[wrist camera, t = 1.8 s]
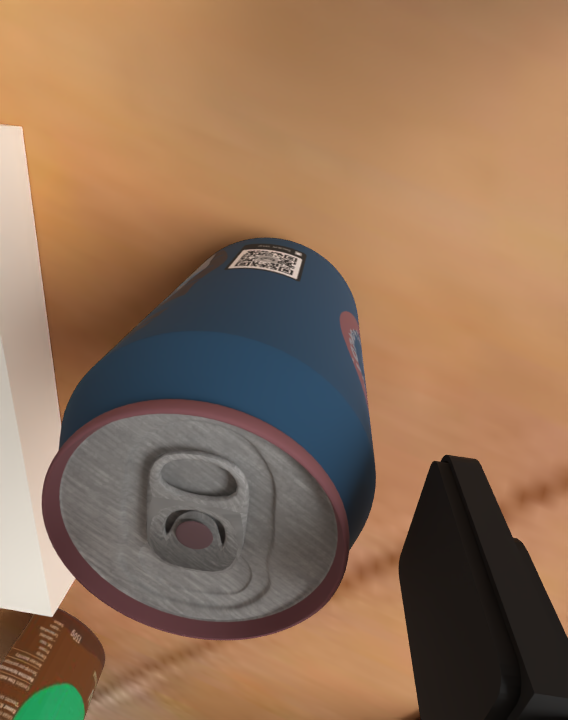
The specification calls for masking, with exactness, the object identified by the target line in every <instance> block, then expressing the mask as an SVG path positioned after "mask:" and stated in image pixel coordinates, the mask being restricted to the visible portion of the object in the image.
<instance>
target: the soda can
mask: <svg viewBox="0 0 568 720" xmlns="http://www.w3.org/2000/svg"><path fill="white" fill-rule="evenodd" d="M375 484H376V471H375V460H374V452H373V443H372V434H371V426H370V417H369V409H368V400H367V391H366V383H365V374H364V365H363V357H362V348H361V340H360V331H359V322H358V314H357V309H356V305H355V301H354V298H353V295H352V293H351V291H350V289H349V287H348V285H347V283H346V282H345V280H344V279H343V277H342V276H341V274H340V273H339V272H338V271H337V270H336V269H335V267H334V266H333V265H332V264H331V263H330V262H328V261H327V260H326V259H325V258H324V257H322V256H321V255H319V254H318V253H316V252H315V251H313V250H311V249H310V248H307V247H305V246H303V245H301V244H298V243H295V242H292V241H288V240H284V239H277V238H254V239H248V240H243V241H240V242H236V243H234V244H231V245H229V246H227V247H225V248H223V249H221V250H219V251H218V252H216V253H215V254H214V255H212V256H211V257H210V258H209V259H207V260H206V261H205V262H204V263H203V264H202V265H201V266H200V267H199V268H198V269H197V270H196V271H195V272H193V273H192V274H191V275H190V276H189V277H188V278H187V279H186V280H185V281H184V282H183V283H182V284H181V285H180V286H179V287H178V288H176V289H175V290H174V291H173V292H172V293H171V294H170V295H169V296H168V297H167V298H166V299H165V300H164V301H163V302H162V303H160V304H159V305H158V306H157V307H156V308H155V309H154V310H153V311H152V312H151V313H150V314H149V315H148V316H147V317H146V318H145V319H143V320H142V321H141V322H140V323H139V324H138V325H137V326H136V327H135V328H134V329H133V330H132V331H131V332H130V333H129V334H128V335H126V336H125V337H124V338H123V339H122V340H121V341H120V342H119V343H118V344H117V345H116V346H115V347H114V348H113V349H112V350H110V351H109V352H108V353H107V354H106V355H105V356H104V357H103V358H102V359H101V360H100V361H99V362H98V363H97V364H96V365H95V366H93V367H92V368H91V370H90V371H89V372H88V373H87V374H86V375H85V376H84V377H83V379H82V380H81V381H80V382H79V384H78V385H77V387H76V388H75V390H74V392H73V394H72V396H71V398H70V400H69V402H68V404H67V407H66V410H65V413H64V417H63V421H62V426H61V433H60V440H59V451H58V452H57V454H56V455H55V457H54V458H53V460H52V462H51V464H50V466H49V468H48V471H47V473H46V476H45V480H44V484H43V490H42V515H43V520H44V524H45V528H46V531H47V534H48V537H49V539H50V541H51V544H52V546H53V548H54V549H55V551H56V553H57V555H58V556H59V558H60V559H61V561H62V562H63V564H64V565H65V566H66V568H67V569H68V570H69V571H70V573H71V574H72V575H73V576H74V577H75V578H76V579H77V580H78V581H79V582H80V583H81V584H82V585H83V586H84V587H85V588H86V589H87V590H88V591H89V592H91V593H92V594H93V595H94V596H96V597H97V598H98V599H99V600H101V601H102V602H104V603H105V604H107V605H108V606H110V607H111V608H113V609H115V610H116V611H118V612H120V613H122V614H123V615H125V616H127V617H129V618H131V619H133V620H135V621H138V622H140V623H142V624H145V625H147V626H150V627H153V628H155V629H158V630H162V631H165V632H168V633H172V634H176V635H181V636H185V637H191V638H198V639H207V640H242V639H250V638H257V637H262V636H266V635H270V634H274V633H277V632H280V631H283V630H285V629H288V628H290V627H292V626H295V625H297V624H299V623H301V622H303V621H304V620H306V619H308V618H309V617H311V616H312V615H314V614H315V613H317V612H318V611H319V610H320V609H321V608H323V606H324V605H325V604H326V603H327V602H328V601H329V600H330V599H331V597H332V596H333V595H334V593H335V592H336V590H337V588H338V587H339V585H340V583H341V580H342V578H343V576H344V573H345V570H346V566H347V561H348V555H349V550H350V549H351V547H352V546H353V544H354V542H355V541H356V539H357V538H358V536H359V534H360V532H361V531H362V529H363V527H364V525H365V523H366V521H367V518H368V516H369V513H370V510H371V507H372V503H373V499H374V493H375Z"/></svg>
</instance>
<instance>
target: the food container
mask: <svg viewBox="0 0 568 720" xmlns="http://www.w3.org/2000/svg"><path fill="white" fill-rule="evenodd" d="M104 663H105V653H104V650H103V647H102V645H101V643H100V641H99V640H98V638H97V637H96V636H95V635H94V633H93V632H92V631H91V630H90V629H89V628H88V627H87V626H86V625H84V624H83V623H82V622H80V621H79V620H78V619H76V618H75V617H73V616H72V615H70V614H68V613H67V612H65V611H63V610H61V609H57V610H56V612H55V614H54V615H53V617H49V616H44V615H38V614H34V615H33V617H32V618H31V620H30V621H29V623H28V624H27V626H26V627H25V629H24V630H23V632H22V633H21V635H20V636H19V638H18V639H17V640H16V642H15V643H14V645H13V646H12V648H11V649H10V651H9V652H8V654H7V655H6V657H5V658H4V660H3V661H2V663H1V664H0V720H84V718H85V715H86V713H87V710H88V707H89V704H90V702H91V699H92V696H93V694H94V691H95V688H96V686H97V683H98V680H99V677H100V675H101V672H102V669H103V667H104Z"/></svg>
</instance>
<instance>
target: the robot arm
mask: <svg viewBox="0 0 568 720" xmlns="http://www.w3.org/2000/svg"><path fill="white" fill-rule="evenodd" d="M399 579H400V586H401V592H402V599H403V606H404V612H405V619H406V626H407V632H408V639H409V645H410V652H411V659H412V665H413V672H414V679H415V685H416V692H417V698H418V705H419V712H420V718H421V720H568V638H567V636H566V634H565V631H564V629H563V627H562V625H561V623H560V621H559V618H558V616H557V614H556V612H555V610H554V608H553V605H552V603H551V601H550V599H549V597H548V595H547V592H546V590H545V588H544V586H543V584H542V582H541V579H540V577H539V575H538V573H537V571H536V569H535V566H534V564H533V562H532V560H531V558H530V555H529V553H528V551H527V550H526V548H525V546H524V545H523V543H522V542H521V541H520V540H518V539H517V538H513V537H512V535H511V532H510V530H509V528H508V526H507V523H506V521H505V519H504V517H503V514H502V512H501V510H500V507H499V505H498V503H497V501H496V498H495V496H494V494H493V492H492V489H491V487H490V485H489V482H488V480H487V478H486V476H485V473H484V471H483V469H482V467H481V464H480V463H479V461H478V460H476V459H472V458H465V457H458V456H451V455H445V456H444V457H443V458H442V460H441V462H438V461H433V462H432V464H431V466H430V469H429V472H428V475H427V478H426V481H425V484H424V487H423V490H422V493H421V496H420V499H419V502H418V505H417V508H416V511H415V514H414V517H413V520H412V522H411V525H410V528H409V531H408V534H407V537H406V540H405V543H404V546H403V549H402V552H401V555H400V560H399Z"/></svg>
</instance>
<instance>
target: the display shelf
mask: <svg viewBox="0 0 568 720" xmlns="http://www.w3.org/2000/svg"><path fill="white" fill-rule="evenodd" d="M60 433H61V420H60V412H59V405H58V397H57V389H56V382H55V374H54V366H53V359H52V351H51V344H50V336H49V328H48V321H47V313H46V305H45V298H44V290H43V283H42V275H41V267H40V260H39V252H38V244H37V237H36V229H35V221H34V214H33V206H32V199H31V191H30V183H29V176H28V168H27V160H26V153H25V145H24V138H23V130H22V127H21V126H13V125H5V124H0V608H4V609H9V610H15V611H21V612H27V613H32V614H38V615H44V616H49V617H53V615H54V614H55V612H56V610H57V609H58V607H59V605H60V603H61V602H62V600H63V598H64V597H65V595H66V593H67V592H68V590H69V588H70V587H71V585H72V583H73V582H74V580H75V577H74V576H73V575H72V574H71V573H70V571H69V570H68V569H67V568H66V566H65V565H64V564H63V562H62V561H61V559H60V558H59V556H58V555H57V553H56V551H55V549H54V548H53V546H52V544H51V541H50V539H49V537H48V534H47V531H46V528H45V524H44V520H43V515H42V490H43V484H44V480H45V476H46V473H47V471H48V468H49V466H50V464H51V462H52V460H53V458H54V457H55V455H56V454H57V452H58V451H59V440H60Z"/></svg>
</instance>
